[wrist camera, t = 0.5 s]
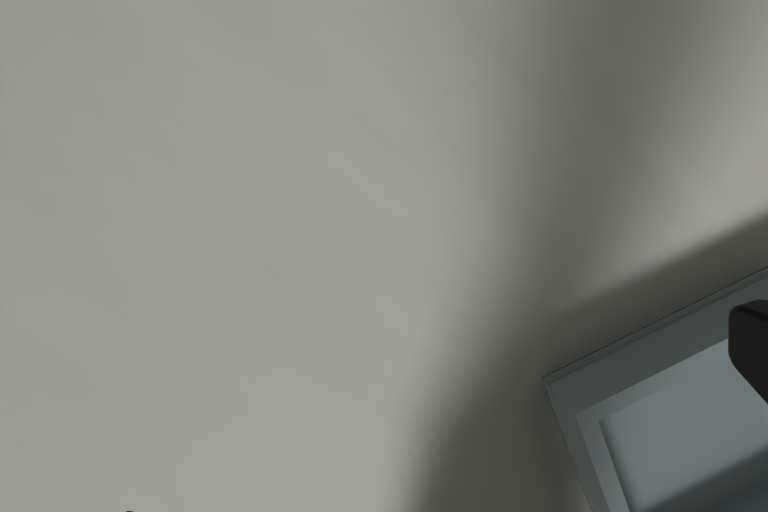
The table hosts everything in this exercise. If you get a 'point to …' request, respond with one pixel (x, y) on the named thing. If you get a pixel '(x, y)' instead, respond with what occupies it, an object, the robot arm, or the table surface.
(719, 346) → the slate tray
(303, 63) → the table surface
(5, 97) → the table surface
